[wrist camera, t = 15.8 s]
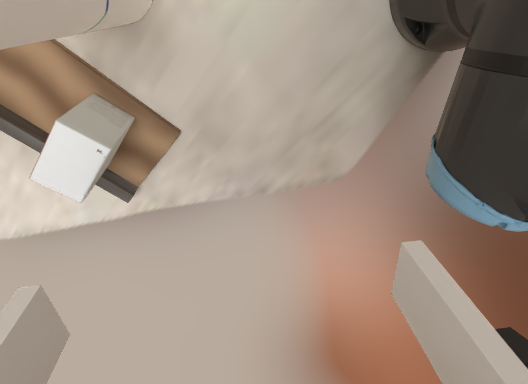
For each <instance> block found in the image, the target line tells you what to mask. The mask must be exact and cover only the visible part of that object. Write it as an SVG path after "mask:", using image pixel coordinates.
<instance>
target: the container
mask: <svg viewBox="0 0 528 384" xmlns="http://www.w3.org/2000/svg"><path fill="white" fill-rule="evenodd" d="M152 1H153V0H0V50H1V49H6V48H11V47H16V46H21V45H26V44H31V43H36V42H41V41H46V40H51V39H56V38H61V37H67V36H72V35H76V34H82V33H87V32H92V31H97V30H102V29H107V28H112V27H117V26H122V25H127V24H131V23H134V22H136V21H138V20H140V19H141V18H142V17H143V16H144V15H145V14H146V13H147V12H148V10H149V9H150V7H151V4H152Z"/></svg>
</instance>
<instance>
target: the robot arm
mask: <svg viewBox="0 0 528 384" xmlns="http://www.w3.org/2000/svg"><path fill="white" fill-rule="evenodd" d="M390 7H391V12H392V16H393V19H394V22H395V24H396V26H397V28H398V30H399V31H400V33H401V34H402V35H403V36H404V37H405V39H407V40H408V41H409V42H410V43H412V44H414V45H415V46H418V47H420V48H424V49H428V50H433V51H452V50H457V49H461V48H464V47H466V48H465V52H464V54H463V57H462V60H461V63H460V65H459V68H458V71H457V74H456V77H455V80H454V83H453V86H452V88H451V91H450V94H449V97H448V100H447V102H446V105H445V108H444V111H443V114H442V117H441V120H440V122H439V125H438V128H437V131H436V133H435V135H434V136H433V138H432V141H431V152H430V155H429V159H428V162H427V166H426V175H427V177H428V179H429V182H430V185H431V187H432V188H433V190H434V191H435V192H436V193H437V194H438V196H439V197H441V198H442V199H443V200H444V201H445V202H446V203H447V204H449V205H450V206H451V207H453V208H454V209H456V210H457V211H459V212H461V213H462V214H464V215H466V216H468V217H470V218H472V219H474V220H476V221H479V222H481V223H484V224H487V225H490V226H495V225H496V224H497V225H498V226H500V227H501V228H503V229H504V230H510V231H527V230H528V0H390ZM391 294H392V296H393V298H394V299H395V301H396V303H397V305H398V306H399V308H400V310H401V312H402V313H403V315H404V317H405V319H406V320H407V322H408V324H409V326H410V327H411V329H412V331H413V333H414V335H415V336H416V338H417V340H418V342H419V343H420V345H421V347H422V349H423V350H424V352H425V354H426V356H427V357H428V359H429V361H430V363H431V364H432V366H433V368H434V370H435V372H436V373H437V375H438V377H439V379H440V380H441V382H442V384H528V340H527V339H526V338H524V337H523V336H522V335H520V334H519V333H517V332H516V331H515V330H513V329H512V328H510V327H508V328H501V329H494V328H493V327H492V325H491V324H490V323H489V322H488V321H487V319H486V318H485V317H484V316H483V315H482V313H481V312H480V311H479V310H478V308H477V307H476V306H475V305H474V304H473V302H472V301H471V300H470V299H469V298H468V296H467V295H466V294H465V293H464V292H463V290H462V289H461V288H460V287H459V285H458V284H457V283H456V282H455V281H454V279H453V278H452V277H451V276H450V275H449V274H448V272H447V271H446V270H445V269H444V268H443V266H442V265H441V264H440V262H439V261H438V260H437V259H436V258H435V256H434V255H433V254H432V253H431V251H430V250H429V249H428V248H427V247H426V245H425V244H424V243H423V242H422V241H421V240H419V241H410V242H402V243H401V247H400V252H399V257H398V263H397V268H396V273H395V277H394V282H393V287H392V292H391ZM69 335H70V334H69V331H68V330H67V328H66V326H65V325H64V323H63V321H62V320H61V318H60V316H59V315H58V313H57V311H56V310H55V308H54V306H53V304H52V303H51V301H50V299H49V298H48V296H47V294H46V293H45V291H44V289H43V288H42V286H41V285H36V286H28V287H19V288H18V289H17V290H16V292H15V293H14V295H13V296H12V297H11V299H10V300H9V301H8V303H7V304H6V305H5V307H4V308H3V309H2V311H1V312H0V384H47V381H48V379H49V377H50V375H51V373H52V371H53V369H54V367H55V365H56V363H57V360H58V358H59V356H60V354H61V352H62V350H63V348H64V346H65V344H66V342H67V340H68V338H69Z"/></svg>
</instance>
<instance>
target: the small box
mask: <svg viewBox="0 0 528 384" xmlns="http://www.w3.org/2000/svg"><path fill="white" fill-rule="evenodd" d="M134 120H135V117H133V116H131V115H130V114H128V113H126V112H124V111H123V110H121V109H119V108H118V107H116V106H114V105H113V104H111V103H109V102H108V101H106V100H104V99H103V98H101V97H99V96H98V95H96V94H94V93H93V94H92V95H90V96H89V97H87V98H86V99H85V100H83V101H82V102H80V103H79V104H78V105H76V106H75V107H73V108H72V109H71V110H69V111H68V112H66V113H65V114H64V115H62V116H61V117H59V118H58V119H57V120H55V122H54V124H53V127H52V129H51V131H50V133H49V136H48V138H47V140H46V142H45V145H44V147H43V149H42V151H41V153H40V156H39V158H38V160H37V162H36V165H35V167H34V169H33V171H32V174H31V176H30V178H29V179H30V180H32V181H35V182H37V183H39V184H41V185H43V186H45V187H47V188H50V189H52V190H54V191H56V192H58V193H60V194H62V195H65V196H67V197H69V198H71V199H73V200H75V201H78V202H80V203H82V202H83V201H84V199H85V198H86V197H87V195H88V194H89V192H90V191H91V189H92V188H93V187H94V185H95V184H96V182H97V181H98V180H99V178H100V177H101V175H102V174H103V172H104V171H105V170H106V168H107V167H108V165H109V164H110V162H111V160H112V159H113V157H114V155H115V153H116V151H117V150H118V148H119V146H120V144H121V143H122V141H123V139H124V137H125V135H126V134H127V132H128V130H129V128H130V127H131V125H132V123H133V121H134Z"/></svg>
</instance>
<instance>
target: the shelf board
mask: <svg viewBox="0 0 528 384" xmlns="http://www.w3.org/2000/svg"><path fill="white" fill-rule="evenodd" d="M93 93H94V94H96V95H98V96H99V97H101V98H103V99H104V100H106V101H108V102H109V103H111V104H113V105H114V106H116V107H118V108H119V109H121V110H123V111H124V112H126V113H128V114H130V115H131V116H133V117H135V120H134V121H133V123H132V125H131V127H130V128H129V130H128V132H127V134H126V135H125V137H124V139H123V141H122V143H121V144H120V146H119V148H118V150H117V151H116V153H115V155H114V157H113V159H112V160H111V162H110V164H109V165H108V167H107V168H106V170H105V171H104V172H103V174H102V175H101V177H100V178H99V180H98V181H97V182H96V185H97V186H99V187H101V188H103V189H104V190H106V191H108V192H110V193H111V194H113V195H115V196H117V197H118V198H120V199H122V200H124V201H125V202H127V203H128V202H129V201H130V200H131V199H132V197H133V196H134V194H135V192H136V190H137V188H138V186H139V185H140V184H141V183H142V181H143V180H144V179H145V177H146V176H147V175H148V174H149V172H150V171H151V170H152V169H153V167H154V166H155V165H156V163H157V162H158V161H159V160H160V158H161V157H162V156H163V155H164V153H165V152H166V151H167V149H168V148H169V147H170V146H171V144H172V143H173V142H174V141H175V139H176V138H177V137H178V136H179V134H180V132H181V130H179V129H178V128H176V127H175V126H174V125H172V124H171V123H169V122H168V121H167V120H165V119H164V118H163V117H161V116H160V115H158V114H157V113H156V112H154V111H153V110H152V109H150V108H149V107H147V106H146V105H145V104H143V103H142V102H140V101H139V100H138V99H136V98H135V97H134V96H132V95H131V94H129V93H128V92H127V91H125V90H124V89H123V88H121V87H120V86H118V85H117V84H116V83H114V82H113V81H111V80H110V79H109V78H107V77H106V76H105V75H103V74H102V73H100V72H99V71H98V70H96V69H95V68H94V67H92V66H91V65H89V64H88V63H87V62H85V61H84V60H82V59H81V58H80V57H78V56H77V55H76V54H74V53H73V52H71V51H70V50H69V49H67V48H66V47H65V46H63V45H62V44H60V43H59V42H58V41H56V40H55V39H51V40H46V41H41V42H36V43H31V44H26V45H21V46H16V47H11V48H6V49H1V50H0V130H1V131H3V132H4V133H6V134H8V135H10V136H11V137H13V138H15V139H17V140H18V141H20V142H22V143H24V144H25V145H27V146H29V147H31V148H32V149H34V150H36V151H38V152H39V153H41V151H42V149H43V147H44V145H45V142H46V140H47V138H48V136H49V133H50V131H51V129H52V127H53V124H54V122H55V120H57V119H58V118H59V117H61V116H62V115H64V114H65V113H66V112H68V111H69V110H71V109H72V108H73V107H75V106H76V105H78V104H79V103H80V102H82V101H83V100H85V99H86V98H87V97H89V96H90V95H92V94H93Z"/></svg>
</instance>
